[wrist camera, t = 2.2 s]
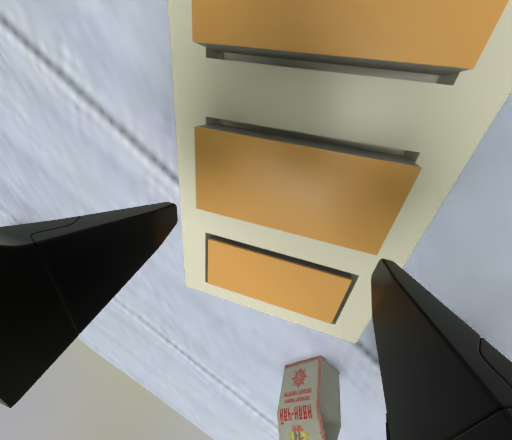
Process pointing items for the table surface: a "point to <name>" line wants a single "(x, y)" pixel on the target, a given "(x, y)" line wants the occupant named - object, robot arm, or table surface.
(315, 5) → the switch
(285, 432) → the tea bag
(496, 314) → the table surface
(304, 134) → the cream board with panels
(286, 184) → the orange drawer
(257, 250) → the orange cabinet drawer
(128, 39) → the table surface
